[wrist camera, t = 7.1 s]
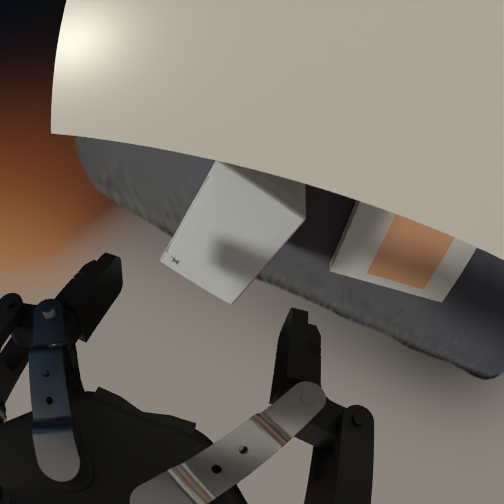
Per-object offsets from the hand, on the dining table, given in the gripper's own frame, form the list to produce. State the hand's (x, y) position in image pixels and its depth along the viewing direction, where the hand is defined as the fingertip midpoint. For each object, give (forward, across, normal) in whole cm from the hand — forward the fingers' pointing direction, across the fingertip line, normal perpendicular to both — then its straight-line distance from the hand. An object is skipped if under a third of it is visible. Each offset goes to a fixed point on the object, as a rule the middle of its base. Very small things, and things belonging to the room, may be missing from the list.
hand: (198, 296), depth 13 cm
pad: (+15, -16, 0) cm, 22 cm away
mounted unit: (+15, -6, -11) cm, 19 cm away
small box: (+15, 0, 0) cm, 15 cm away
